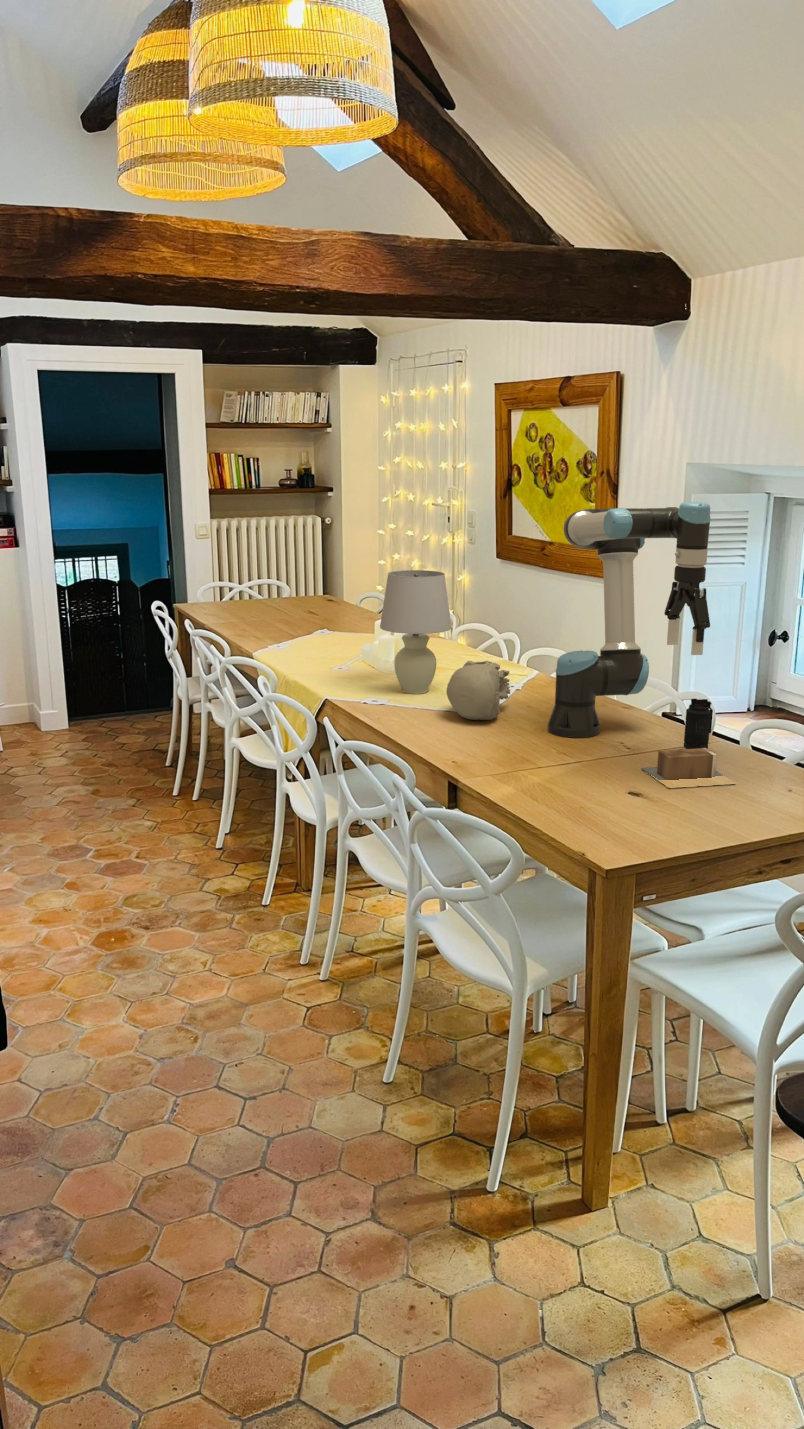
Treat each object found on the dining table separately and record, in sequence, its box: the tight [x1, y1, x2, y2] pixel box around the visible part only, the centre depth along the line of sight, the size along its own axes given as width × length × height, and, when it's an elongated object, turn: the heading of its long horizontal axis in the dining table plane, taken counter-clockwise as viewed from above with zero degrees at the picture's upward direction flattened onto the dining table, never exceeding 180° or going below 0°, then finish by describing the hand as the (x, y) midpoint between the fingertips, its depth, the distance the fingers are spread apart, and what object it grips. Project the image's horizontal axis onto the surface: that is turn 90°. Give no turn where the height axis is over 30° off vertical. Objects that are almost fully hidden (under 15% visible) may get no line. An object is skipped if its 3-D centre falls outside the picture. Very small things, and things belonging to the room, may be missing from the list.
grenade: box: [683, 698, 714, 750], centre depth 292 cm, size 7×7×15 cm
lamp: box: [379, 569, 452, 695], centre depth 356 cm, size 24×24×40 cm
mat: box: [641, 766, 724, 780], centre depth 271 cm, size 16×18×1 cm
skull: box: [446, 660, 511, 721], centre depth 327 cm, size 20×25×20 cm
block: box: [656, 748, 718, 780], centre depth 270 cm, size 6×6×13 cm
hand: (684, 649), depth 270 cm, fingers open, 13 cm apart
